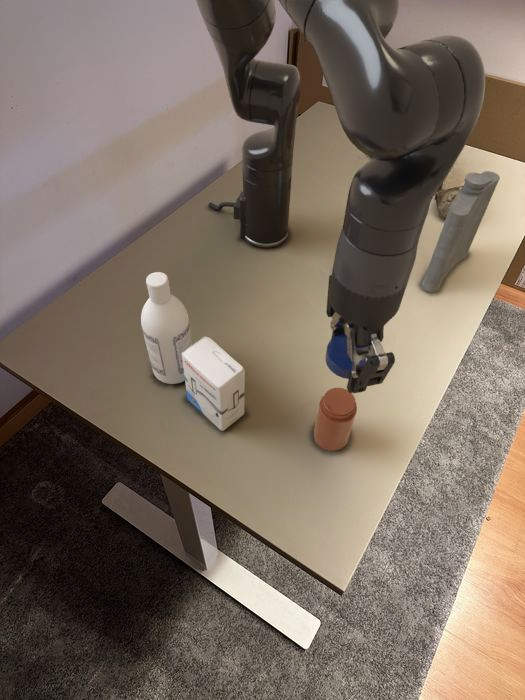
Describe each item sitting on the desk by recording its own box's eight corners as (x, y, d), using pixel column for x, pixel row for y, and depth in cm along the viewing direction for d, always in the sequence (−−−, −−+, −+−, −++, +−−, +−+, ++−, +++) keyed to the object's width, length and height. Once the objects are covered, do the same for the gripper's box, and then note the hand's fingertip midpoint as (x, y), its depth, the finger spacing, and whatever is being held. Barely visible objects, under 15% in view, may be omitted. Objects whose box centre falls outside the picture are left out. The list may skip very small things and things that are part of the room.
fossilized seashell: (473, 219, 106) (476, 201, 113) (465, 190, 103) (469, 173, 110) (436, 229, 110) (441, 210, 117) (428, 201, 107) (434, 183, 114)
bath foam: (195, 350, 85) (183, 260, 70) (195, 383, 81) (182, 295, 65) (153, 353, 85) (132, 262, 69) (152, 386, 80) (128, 298, 65)
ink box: (186, 398, 79) (177, 352, 70) (210, 380, 81) (205, 333, 72) (222, 433, 75) (218, 388, 66) (246, 413, 78) (246, 368, 69)
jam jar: (310, 446, 74) (317, 412, 67) (316, 417, 78) (323, 381, 70) (345, 454, 74) (356, 421, 66) (350, 424, 77) (361, 389, 69)
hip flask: (434, 294, 95) (470, 204, 79) (414, 285, 96) (446, 194, 81) (469, 252, 103) (508, 162, 87) (450, 244, 104) (485, 154, 89)
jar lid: (376, 347, 63) (378, 339, 61) (369, 384, 59) (372, 375, 58) (330, 337, 64) (331, 328, 62) (321, 373, 60) (322, 364, 59)
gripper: (439, 313, 46) (397, 411, 59) (378, 218, 55) (354, 322, 68) (362, 328, 45) (337, 424, 58) (313, 228, 53) (300, 332, 67)
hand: (346, 368), depth 63 cm, fingers closed on jar lid, 5 cm apart
